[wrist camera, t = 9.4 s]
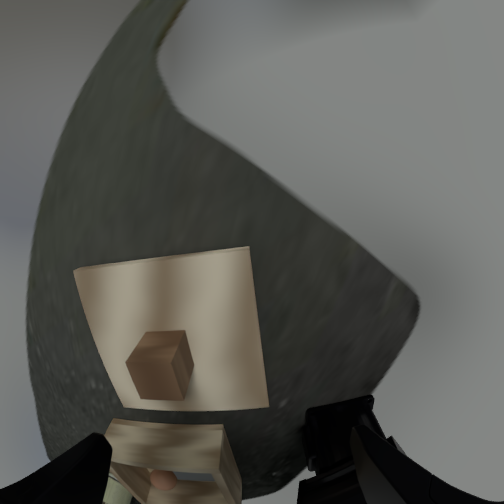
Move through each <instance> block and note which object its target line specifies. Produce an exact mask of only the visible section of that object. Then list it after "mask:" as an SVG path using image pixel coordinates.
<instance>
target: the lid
mask: <svg viewBox="0 0 504 504" xmlns="http://www.w3.org/2000/svg"><path fill="white" fill-rule="evenodd" d="M73 272H74V276H75V280H76V284H77V288H78V291H79V295H80V298H81V302H82V305H83V308H84V312H85V315H86V318H87V321H88V324H89V327H90V330H91V332H92V335H93V338H94V341H95V343H96V346H97V348H98V351H99V354H100V356H101V358H102V361H103V363H104V366H105V368H106V370H107V373H108V375H109V377H110V379H111V381H112V384H113V386H114V388H115V390H116V392H117V394H118V396H119V398H120V400H121V402H122V404H123V406H124V407H127V408H137V409H149V410H167V411H223V410H241V409H254V408H264V407H269V401H268V393H267V385H266V377H265V369H264V361H263V353H262V345H261V337H260V329H259V321H258V313H257V305H256V297H255V289H254V281H253V273H252V265H251V257H250V249H249V246H248V247H239V248H231V249H223V250H214V251H206V252H198V253H190V254H182V255H174V256H166V257H158V258H150V259H142V260H134V261H126V262H118V263H111V264H103V265H95V266H87V267H80V268H78V269H76V270H74V271H73Z"/></svg>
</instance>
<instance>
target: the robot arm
mask: <svg viewBox="0 0 504 504" xmlns="http://www.w3.org/2000/svg"><path fill="white" fill-rule="evenodd" d="M373 404H374V398H373V395H367V396H363V397H359V398H355V399H351V400H347V401H343V402H338V403H334V404H329V405H324V406H319V407H313V408H310V409H308V410H307V425H306V426H304V427H303V446H304V451H305V456H306V461H307V466H308V470H309V471H315V473H316V476H314V477H312V478H309V479H307V480H306V479H304V480H302V481H300V482H299V489H298V498H297V504H504V501H502V502H494V501H488V500H484V499H481V498H479V497H476V496H474V495H471V494H469V493H466V492H464V491H462V490H459V489H457V488H455V487H453V486H451V485H449V484H448V483H446V482H444V481H443V480H441V479H439V478H438V477H436V476H435V475H432V474H431V473H430V472H429V471H427V470H426V469H424V468H423V467H421V466H420V465H419V464H417V463H416V462H414V461H413V460H412V459H410V458H409V457H407V456H406V454H405V452H404V451H403V450H402V448H401V447H400V446H399V444H398V443H397V442H396V441H395V439H394V438H393V437H392V436H390V437H389V438H387V439H386V437H385V435H384V433H383V431H382V429H381V427H380V425H379V423H378V421H377V419H376V417H375V415H374V413H373V411H372V409H373ZM312 412H313V413H312ZM112 452H113V449H112V446H111V445H110V443H109V442H108V440H107V439H106V437H105V436H104V435H103V434H100V433H92V434H90V435H89V436H87V437H86V438H85V439H83V440H82V441H80V442H79V443H77V444H76V445H75V446H73V447H72V448H70V449H69V450H67V451H66V452H64V453H63V454H61V455H60V456H58V457H57V458H55V459H54V460H52V461H51V462H49V463H48V464H46V465H45V466H43V467H42V468H40V469H38V470H37V471H35V472H34V473H32V474H30V475H29V476H27V477H25V478H23V479H22V480H20V481H18V482H16V483H14V484H12V485H9V486H7V487H5V488H2V489H0V504H102V503H103V499H104V495H105V491H106V487H107V483H108V478H109V471H110V465H111V458H112Z"/></svg>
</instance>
